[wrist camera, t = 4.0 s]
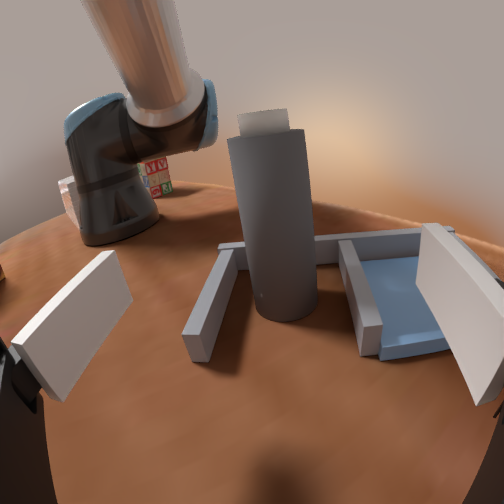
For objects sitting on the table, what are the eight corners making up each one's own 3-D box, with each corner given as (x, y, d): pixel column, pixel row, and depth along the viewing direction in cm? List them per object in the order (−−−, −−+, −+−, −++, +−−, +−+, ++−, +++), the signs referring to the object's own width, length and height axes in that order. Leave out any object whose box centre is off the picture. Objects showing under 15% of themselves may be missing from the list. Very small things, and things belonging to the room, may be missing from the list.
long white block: (67, 214, 77) (57, 181, 72) (97, 202, 83) (89, 169, 78) (81, 233, 54) (66, 184, 49) (125, 215, 60) (113, 167, 55)
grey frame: (224, 265, 31) (219, 243, 30) (447, 247, 27) (450, 225, 26) (182, 367, 18) (171, 340, 17) (515, 331, 14) (526, 304, 13)
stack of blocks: (122, 195, 82) (113, 156, 77) (140, 189, 86) (131, 151, 81) (152, 199, 68) (141, 150, 63) (174, 191, 72) (164, 144, 66)
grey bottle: (259, 287, 26) (231, 116, 20) (315, 283, 25) (299, 108, 19) (252, 323, 22) (214, 118, 16) (319, 319, 21) (302, 106, 15)
